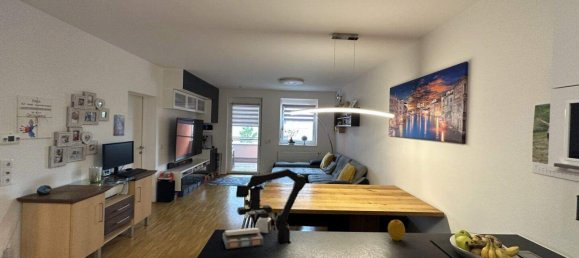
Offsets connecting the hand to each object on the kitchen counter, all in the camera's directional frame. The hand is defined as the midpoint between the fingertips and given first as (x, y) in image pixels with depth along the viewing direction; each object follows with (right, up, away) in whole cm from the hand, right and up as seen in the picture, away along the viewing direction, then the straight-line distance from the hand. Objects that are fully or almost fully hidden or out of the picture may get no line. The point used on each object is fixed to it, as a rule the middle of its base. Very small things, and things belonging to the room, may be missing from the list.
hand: (254, 225), depth 170 cm
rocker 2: (-7, -5, +1) cm, 9 cm away
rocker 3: (-1, -6, +3) cm, 6 cm away
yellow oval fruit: (+82, -12, +9) cm, 84 cm away
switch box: (-7, -9, 0) cm, 11 cm away
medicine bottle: (+4, -9, +18) cm, 21 cm away
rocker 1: (-12, -5, -2) cm, 14 cm away
